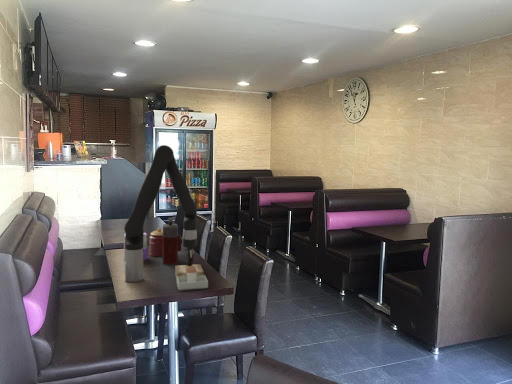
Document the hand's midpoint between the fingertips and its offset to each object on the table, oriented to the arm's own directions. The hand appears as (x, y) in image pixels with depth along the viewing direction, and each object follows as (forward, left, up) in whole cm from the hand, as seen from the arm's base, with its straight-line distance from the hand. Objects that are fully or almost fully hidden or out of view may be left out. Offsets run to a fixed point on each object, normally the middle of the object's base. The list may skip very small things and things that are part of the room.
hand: (189, 268), depth 221 cm
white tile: (0, -7, -3) cm, 8 cm away
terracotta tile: (0, -4, 0) cm, 4 cm away
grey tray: (0, -12, -6) cm, 13 cm away
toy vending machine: (-7, +33, -6) cm, 35 cm away
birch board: (0, +1, -6) cm, 6 cm away
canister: (-14, +53, -6) cm, 56 cm away
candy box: (-29, +44, -6) cm, 53 cm away
